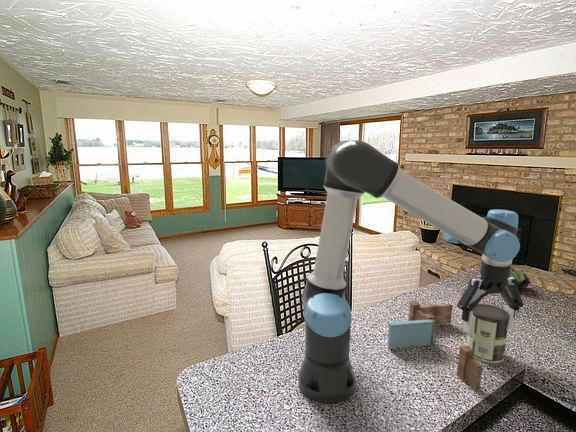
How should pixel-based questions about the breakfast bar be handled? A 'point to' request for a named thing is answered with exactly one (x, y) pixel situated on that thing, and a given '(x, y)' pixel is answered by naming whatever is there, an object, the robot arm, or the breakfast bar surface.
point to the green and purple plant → (520, 279)
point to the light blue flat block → (411, 333)
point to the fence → (466, 363)
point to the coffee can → (488, 333)
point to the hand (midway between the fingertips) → (486, 329)
